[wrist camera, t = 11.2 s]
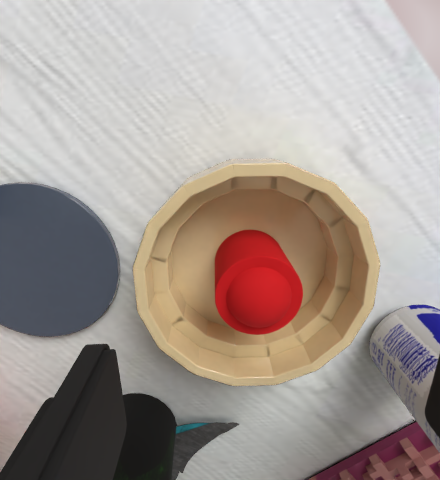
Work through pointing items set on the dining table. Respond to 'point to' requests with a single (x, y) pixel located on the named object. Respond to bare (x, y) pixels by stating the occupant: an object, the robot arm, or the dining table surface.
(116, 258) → the dark grey coaster
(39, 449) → the robot arm
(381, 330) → the beverage can
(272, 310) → the red cylinder
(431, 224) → the dining table surface
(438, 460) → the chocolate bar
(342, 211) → the serving bowl
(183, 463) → the knife
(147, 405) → the cup
